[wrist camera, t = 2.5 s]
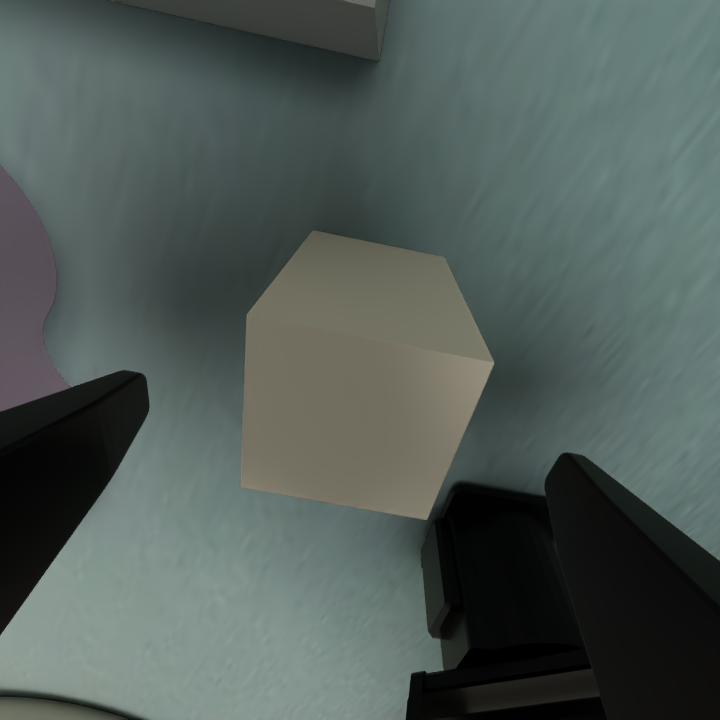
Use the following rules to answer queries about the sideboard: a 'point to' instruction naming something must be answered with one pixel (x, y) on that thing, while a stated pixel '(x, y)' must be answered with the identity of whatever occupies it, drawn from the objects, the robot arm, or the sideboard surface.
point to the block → (359, 377)
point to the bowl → (49, 710)
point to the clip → (24, 300)
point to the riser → (291, 20)
